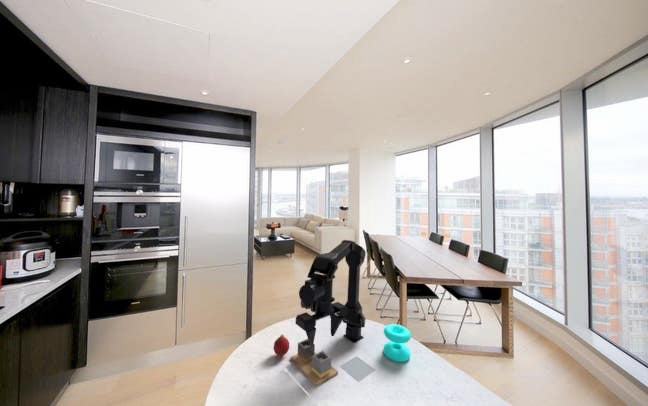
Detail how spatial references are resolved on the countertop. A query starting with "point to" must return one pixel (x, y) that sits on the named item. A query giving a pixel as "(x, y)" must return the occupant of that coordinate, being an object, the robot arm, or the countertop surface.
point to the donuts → (397, 343)
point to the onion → (281, 346)
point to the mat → (357, 368)
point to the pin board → (310, 363)
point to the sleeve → (321, 364)
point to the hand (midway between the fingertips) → (322, 340)
